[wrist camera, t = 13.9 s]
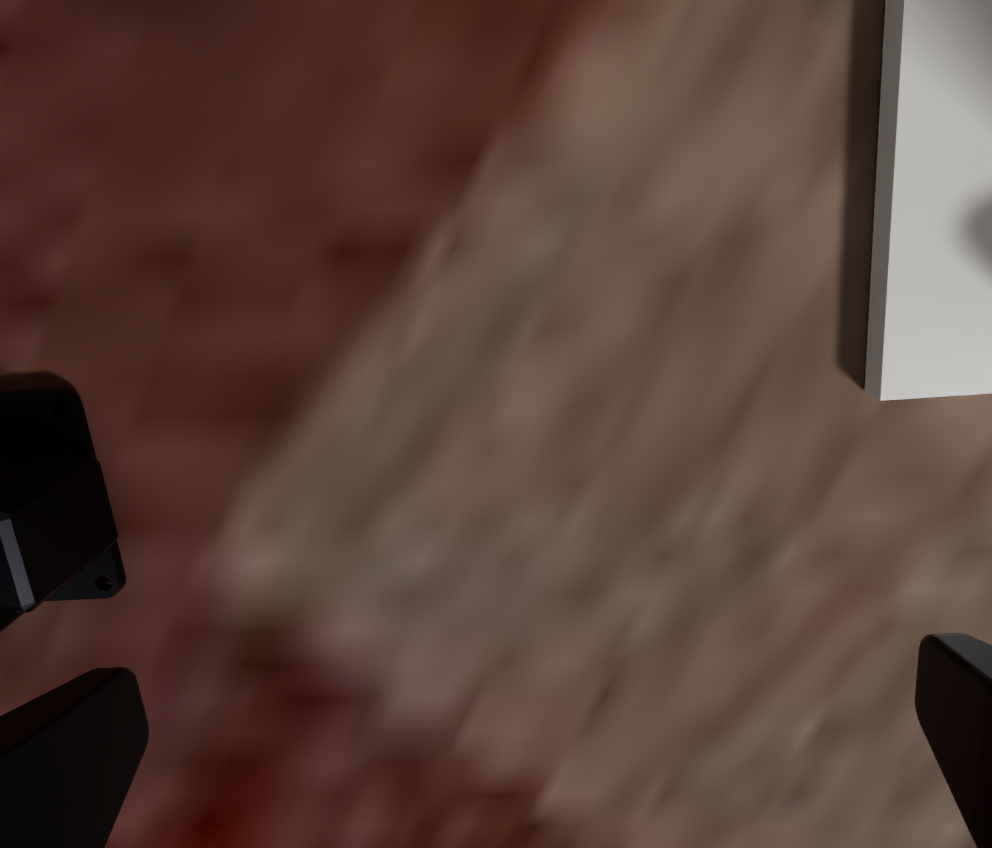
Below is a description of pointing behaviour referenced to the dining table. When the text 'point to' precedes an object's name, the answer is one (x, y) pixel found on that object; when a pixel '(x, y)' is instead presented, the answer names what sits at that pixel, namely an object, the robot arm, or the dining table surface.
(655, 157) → the dining table surface
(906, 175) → the plate
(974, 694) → the robot arm
